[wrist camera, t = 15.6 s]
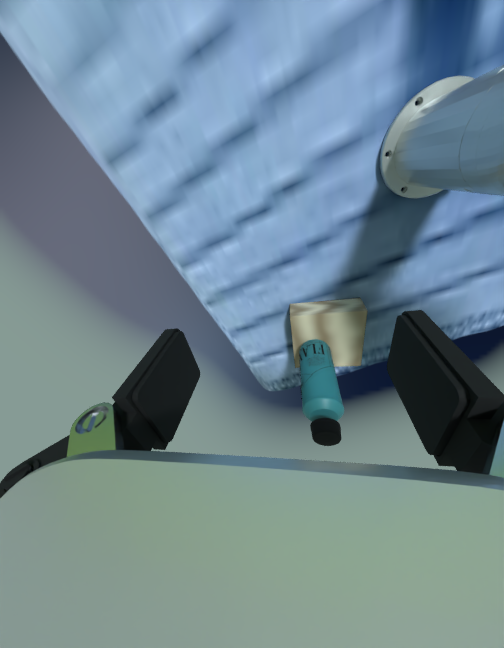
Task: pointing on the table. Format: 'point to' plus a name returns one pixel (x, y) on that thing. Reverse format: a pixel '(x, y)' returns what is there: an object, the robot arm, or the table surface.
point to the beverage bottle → (320, 392)
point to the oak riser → (331, 328)
